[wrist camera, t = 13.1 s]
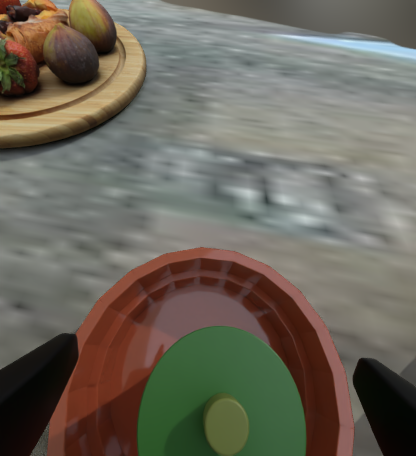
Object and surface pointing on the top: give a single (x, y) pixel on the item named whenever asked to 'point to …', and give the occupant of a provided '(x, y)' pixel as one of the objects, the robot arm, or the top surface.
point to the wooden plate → (63, 70)
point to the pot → (182, 325)
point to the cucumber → (220, 399)
